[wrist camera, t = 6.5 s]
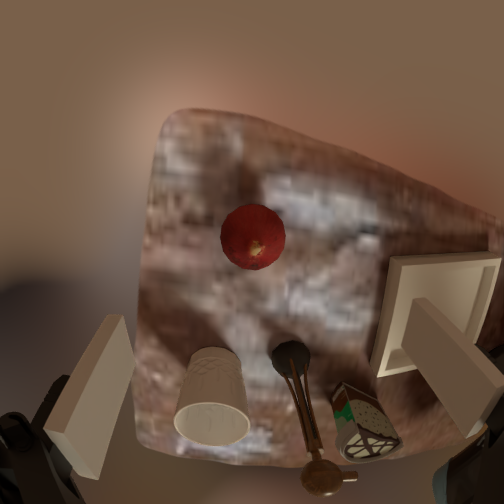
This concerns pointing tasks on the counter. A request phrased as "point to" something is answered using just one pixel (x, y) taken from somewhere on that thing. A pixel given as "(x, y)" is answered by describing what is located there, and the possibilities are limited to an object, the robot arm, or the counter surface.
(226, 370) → the white cup
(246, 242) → the onion
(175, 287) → the counter surface
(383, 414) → the food container
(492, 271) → the tray
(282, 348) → the wooden tabletop sculpture
